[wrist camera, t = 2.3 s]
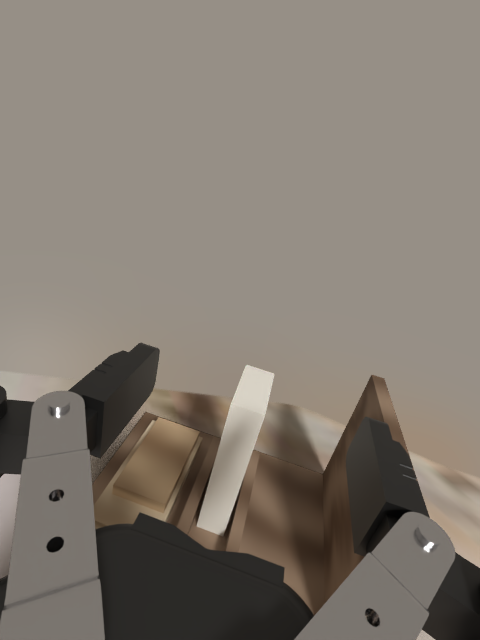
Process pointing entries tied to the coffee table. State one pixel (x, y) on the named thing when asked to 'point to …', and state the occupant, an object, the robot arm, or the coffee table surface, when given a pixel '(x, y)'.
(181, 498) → the rack
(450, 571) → the robot arm
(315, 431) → the coffee table surface
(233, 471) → the block
